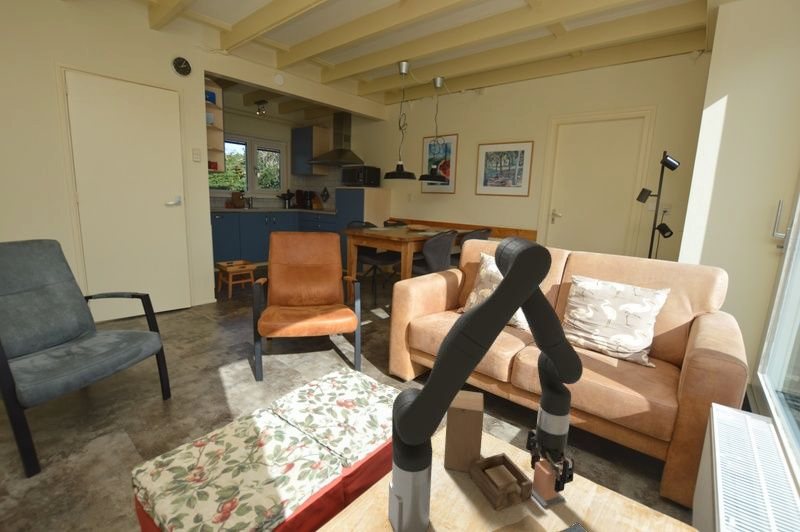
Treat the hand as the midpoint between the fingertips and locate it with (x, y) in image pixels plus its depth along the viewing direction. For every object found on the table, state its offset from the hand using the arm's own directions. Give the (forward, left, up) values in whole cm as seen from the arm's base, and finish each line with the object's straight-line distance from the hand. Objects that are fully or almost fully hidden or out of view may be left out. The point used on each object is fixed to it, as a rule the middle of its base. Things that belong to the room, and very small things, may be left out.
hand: (546, 479), depth 100 cm
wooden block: (-14, +19, -5) cm, 24 cm away
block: (0, 0, -4) cm, 4 cm away
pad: (0, 0, -5) cm, 5 cm away
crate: (-10, +6, -5) cm, 13 cm away
